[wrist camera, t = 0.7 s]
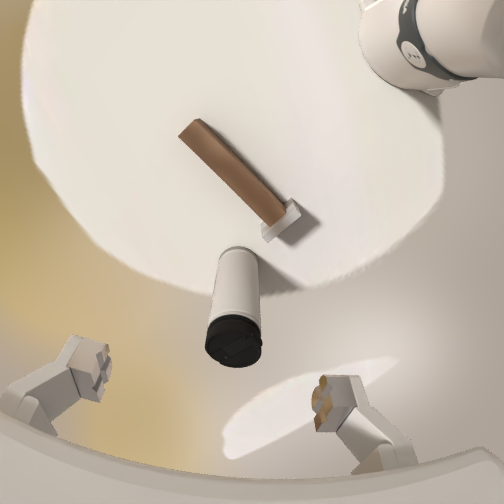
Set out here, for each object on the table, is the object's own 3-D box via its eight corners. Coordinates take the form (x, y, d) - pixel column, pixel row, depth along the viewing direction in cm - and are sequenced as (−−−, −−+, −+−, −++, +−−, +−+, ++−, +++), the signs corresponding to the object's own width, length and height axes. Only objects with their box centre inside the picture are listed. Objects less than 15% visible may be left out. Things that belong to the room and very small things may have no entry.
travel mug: (267, 264, 50) (276, 356, 32) (235, 286, 52) (229, 380, 34) (242, 237, 48) (238, 322, 30) (210, 260, 49) (191, 350, 32)
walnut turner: (207, 110, 39) (201, 111, 34) (296, 203, 45) (301, 215, 41) (176, 140, 41) (168, 145, 36) (266, 228, 47) (267, 243, 43)
